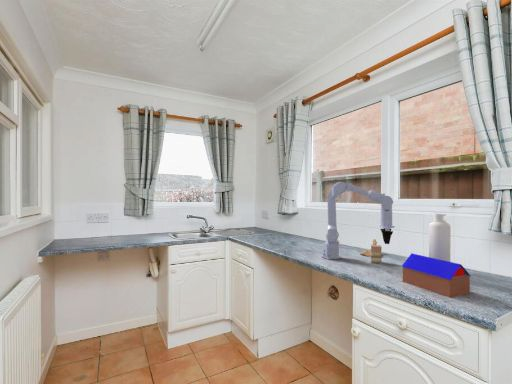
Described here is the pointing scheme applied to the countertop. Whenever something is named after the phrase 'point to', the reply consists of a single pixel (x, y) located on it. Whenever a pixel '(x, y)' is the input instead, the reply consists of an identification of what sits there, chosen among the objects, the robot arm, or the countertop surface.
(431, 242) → the bottle
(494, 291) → the countertop surface
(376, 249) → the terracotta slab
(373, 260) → the tower bottom
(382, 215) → the robot arm
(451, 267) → the house
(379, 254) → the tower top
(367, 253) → the bone
